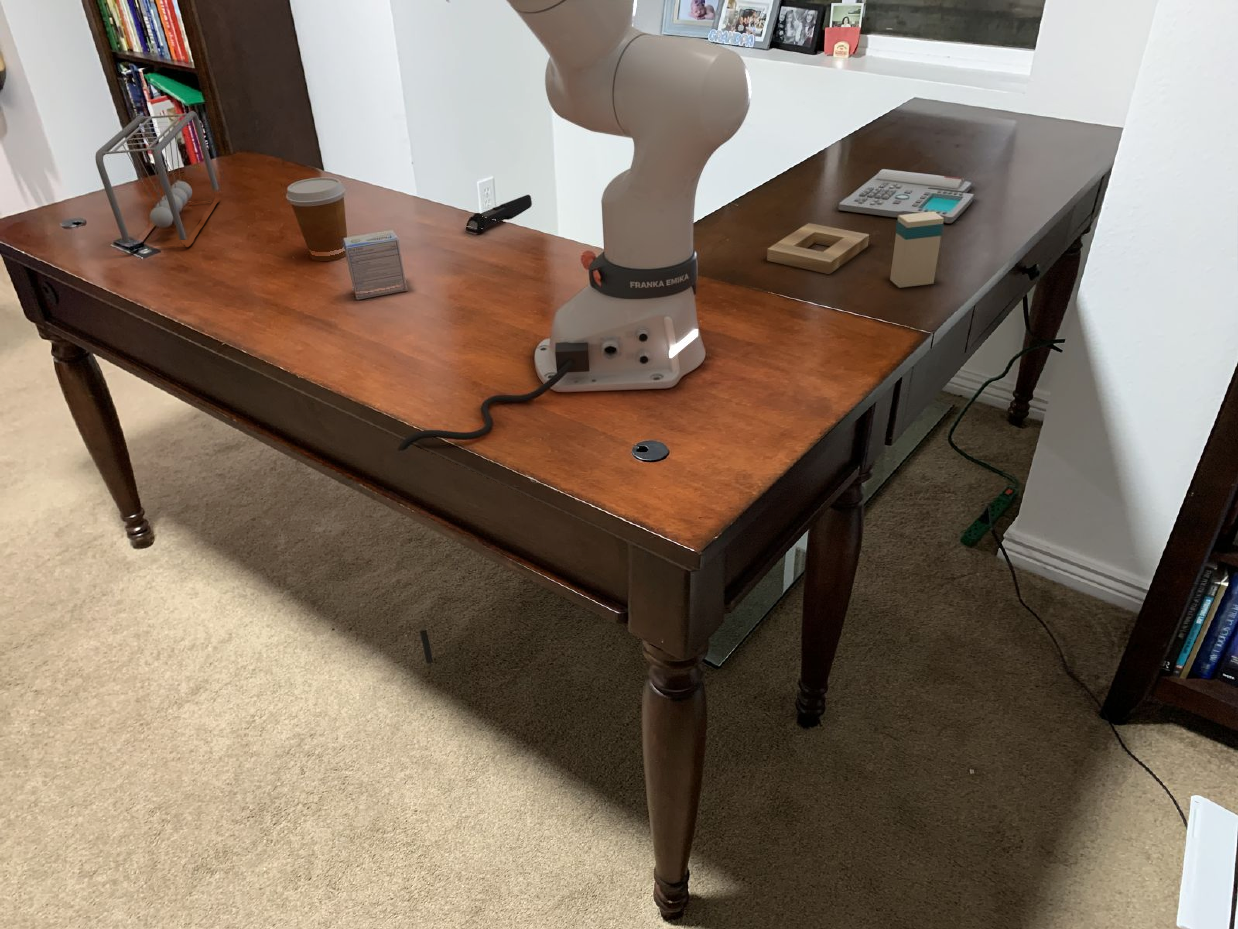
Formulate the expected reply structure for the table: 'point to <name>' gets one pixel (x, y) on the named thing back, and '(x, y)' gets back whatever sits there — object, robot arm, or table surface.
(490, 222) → the electric trimmer
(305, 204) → the disposable coffee cup
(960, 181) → the office telephone
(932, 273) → the box
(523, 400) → the robot arm
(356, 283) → the medicine box
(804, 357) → the table surface
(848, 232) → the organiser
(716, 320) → the table surface
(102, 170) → the newton's cradle
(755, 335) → the table surface
